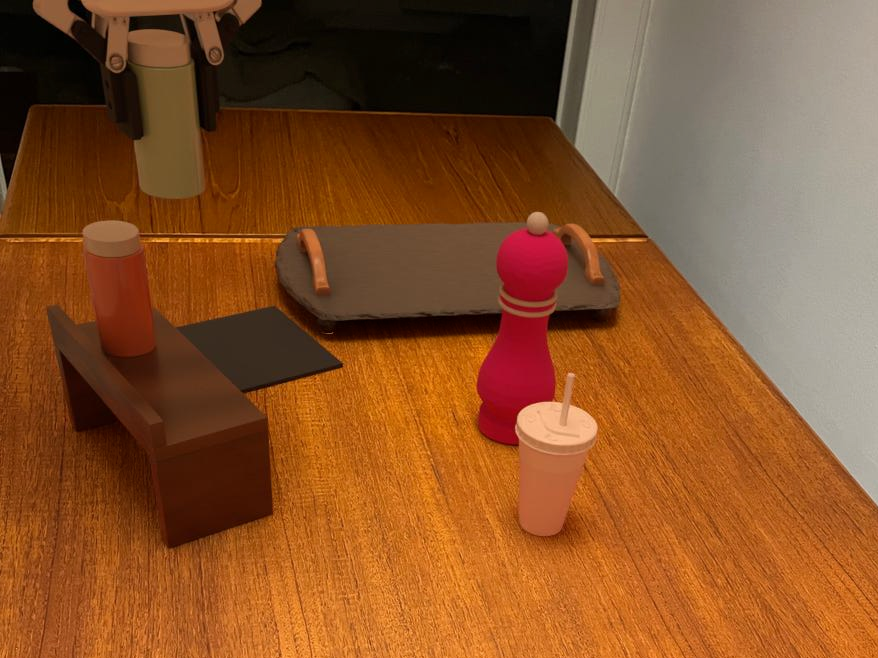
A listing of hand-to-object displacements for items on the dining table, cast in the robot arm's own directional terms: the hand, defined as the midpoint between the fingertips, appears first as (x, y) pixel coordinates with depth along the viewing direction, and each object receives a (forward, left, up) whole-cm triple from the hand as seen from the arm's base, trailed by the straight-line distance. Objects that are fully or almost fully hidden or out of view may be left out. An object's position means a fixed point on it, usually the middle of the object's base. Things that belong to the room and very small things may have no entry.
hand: (166, 126), depth 67 cm
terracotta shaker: (-3, +6, -18) cm, 19 cm away
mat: (+12, +16, -27) cm, 34 cm away
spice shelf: (-3, +1, -27) cm, 27 cm away
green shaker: (0, 0, -4) cm, 4 cm away
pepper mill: (+27, -8, -27) cm, 39 cm away
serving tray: (+39, +19, -27) cm, 52 cm away
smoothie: (+20, -21, -27) cm, 40 cm away
